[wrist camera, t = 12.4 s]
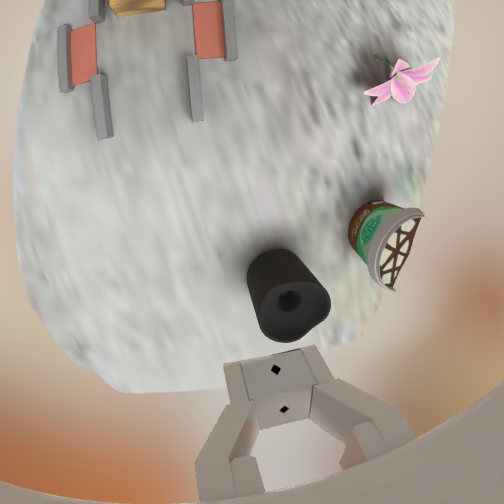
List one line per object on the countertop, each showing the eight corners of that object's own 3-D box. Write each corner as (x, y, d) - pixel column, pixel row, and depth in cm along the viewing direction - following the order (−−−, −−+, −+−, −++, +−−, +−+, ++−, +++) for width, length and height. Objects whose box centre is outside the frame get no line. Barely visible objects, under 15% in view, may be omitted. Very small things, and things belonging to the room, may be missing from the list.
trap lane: (225, -53, 23) (231, -71, 18) (239, 116, 34) (247, 116, 30) (66, -23, 20) (54, -36, 15) (72, 147, 31) (57, 152, 27)
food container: (356, 182, 41) (396, 202, 33) (387, 192, 43) (428, 213, 34) (330, 257, 46) (361, 292, 37) (361, 262, 48) (394, 294, 39)
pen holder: (301, 296, 48) (325, 336, 39) (243, 303, 46) (257, 347, 38) (306, 243, 44) (336, 277, 35) (243, 248, 42) (259, 286, 34)
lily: (329, 87, 36) (376, 120, 31) (360, 16, 27) (416, 38, 22) (381, 103, 41) (423, 135, 36) (409, 45, 33) (457, 72, 28)
